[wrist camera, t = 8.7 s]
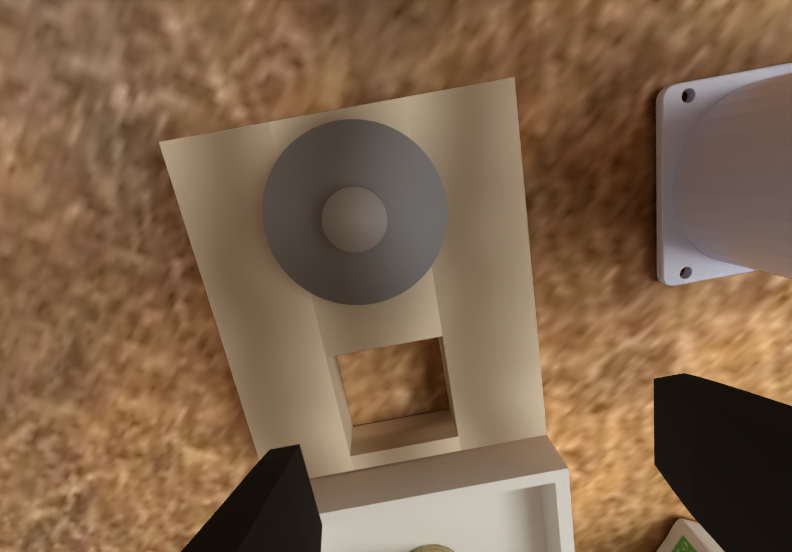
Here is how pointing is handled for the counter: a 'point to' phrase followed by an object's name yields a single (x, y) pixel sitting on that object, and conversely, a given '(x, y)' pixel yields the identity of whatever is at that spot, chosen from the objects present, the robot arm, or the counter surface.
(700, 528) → the skincare box
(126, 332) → the counter surface
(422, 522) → the tray
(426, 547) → the lock pin
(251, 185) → the tensioner bracket
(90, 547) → the counter surface
